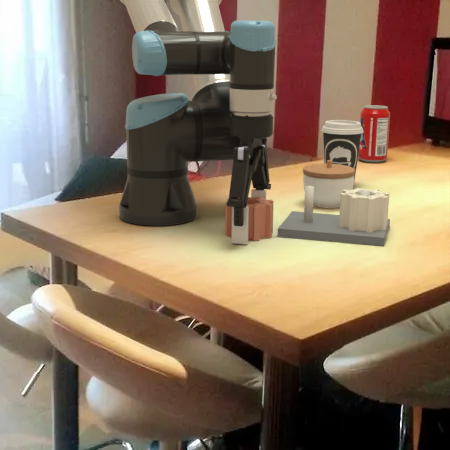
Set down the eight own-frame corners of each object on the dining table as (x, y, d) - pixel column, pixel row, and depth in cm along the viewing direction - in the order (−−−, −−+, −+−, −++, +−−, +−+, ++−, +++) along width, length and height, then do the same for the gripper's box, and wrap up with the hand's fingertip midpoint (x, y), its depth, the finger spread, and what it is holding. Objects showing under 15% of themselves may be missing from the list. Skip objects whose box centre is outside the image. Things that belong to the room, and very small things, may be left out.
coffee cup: (369, 188, 170) (373, 123, 166) (338, 193, 165) (341, 126, 161) (340, 180, 178) (343, 118, 174) (310, 185, 173) (312, 121, 169)
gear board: (277, 236, 132) (278, 192, 129) (292, 218, 144) (293, 178, 141) (383, 246, 126) (386, 200, 124) (389, 226, 138) (392, 184, 136)
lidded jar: (352, 212, 149) (354, 166, 146) (299, 209, 151) (300, 164, 148) (354, 200, 159) (356, 157, 156) (304, 197, 161) (305, 155, 158)
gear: (223, 239, 129) (223, 206, 128) (228, 226, 137) (228, 195, 136) (271, 241, 128) (271, 208, 127) (273, 228, 136) (274, 197, 135)
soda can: (380, 164, 198) (384, 108, 194) (353, 161, 202) (356, 106, 198) (391, 160, 205) (394, 105, 201) (364, 157, 209) (367, 103, 205)
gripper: (255, 123, 115) (252, 254, 120) (287, 106, 137) (284, 218, 143) (209, 120, 117) (208, 250, 122) (248, 105, 139) (246, 215, 145)
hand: (249, 233), depth 133 cm, fingers open, 12 cm apart
